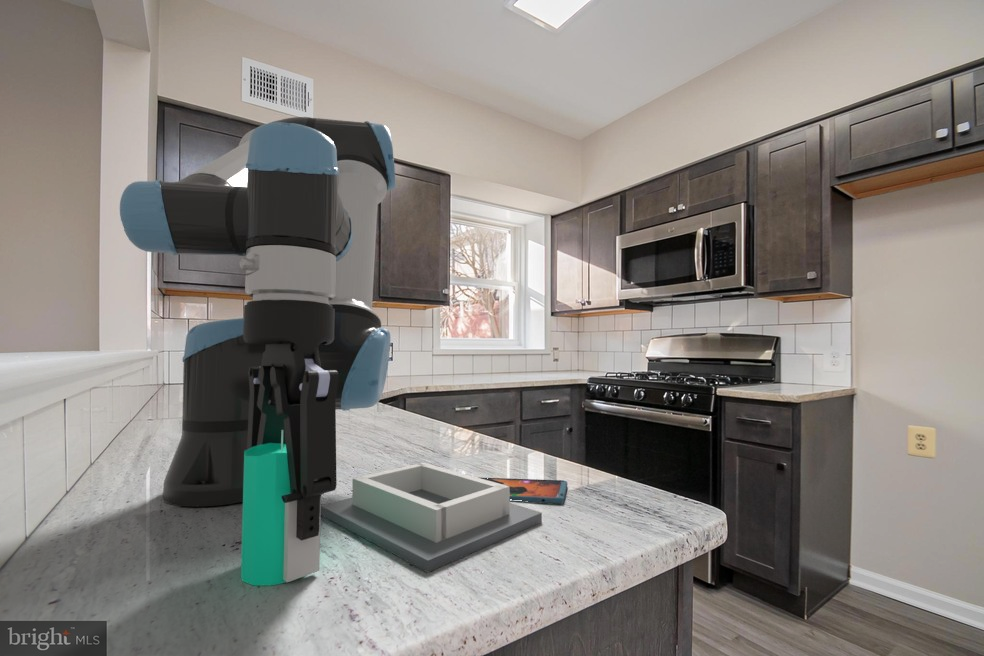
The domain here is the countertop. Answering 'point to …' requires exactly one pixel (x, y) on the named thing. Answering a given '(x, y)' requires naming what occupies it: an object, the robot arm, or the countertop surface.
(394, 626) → the countertop surface
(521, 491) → the smartphone
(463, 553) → the dock
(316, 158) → the robot arm
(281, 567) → the candle
